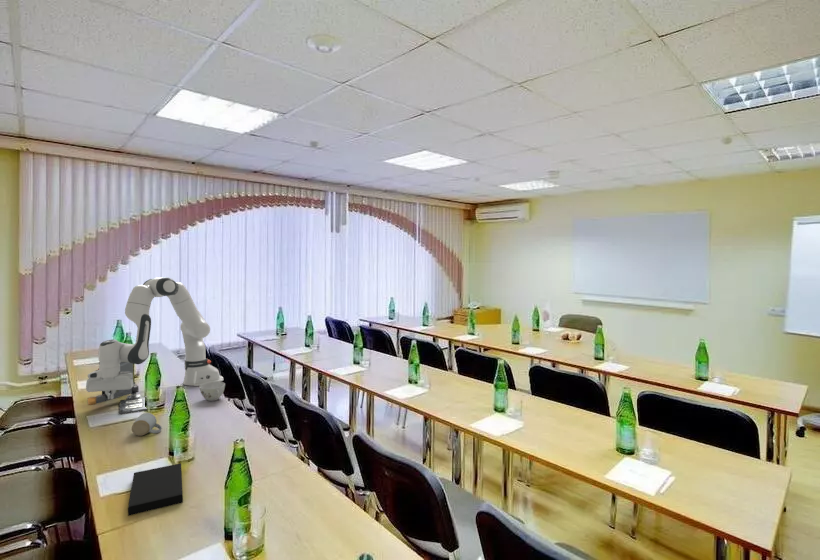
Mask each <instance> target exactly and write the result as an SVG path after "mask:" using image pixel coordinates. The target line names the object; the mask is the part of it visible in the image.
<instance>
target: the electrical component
mask: <svg viewBox="0 0 820 560" xmlns="http://www.w3.org/2000/svg"><path fill="white" fill-rule="evenodd" d="M99 365H100V362H99V361H98V366H99ZM97 370H99V368H98V369H97ZM122 371H125V372H126V371H130V372H131V373H133V378H132V379H133V386H138V384H136V382H135V364H133V363H127V362H120V372H122ZM116 391H117V390H116ZM110 392H111V391H110ZM102 394H105V391H101V395H102Z"/></svg>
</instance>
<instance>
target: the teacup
mask: <svg viewBox="0 0 820 560" xmlns="http://www.w3.org/2000/svg"><path fill="white" fill-rule="evenodd" d="M225 388H226V383H225V382H223V381H221V382H211V383H206V384H203V385H201V386H199V391H200V395H202V397H203V398H204V399H205V400H206V401H207V402H215V401H217V400H219V398H221V396H222V395H223V394H224V392H225Z"/></svg>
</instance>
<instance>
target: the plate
mask: <svg viewBox="0 0 820 560" xmlns="http://www.w3.org/2000/svg"><path fill="white" fill-rule="evenodd" d="M145 397H146V396H140V398H133V399H127V398H126V399H121V400H119V409H118V411H119V412H118V414H120V415H125V413H126V414H131V412H132V413H138V411H139V412H143V411H144V412H145V411H148V410H147V408H146V407H145Z"/></svg>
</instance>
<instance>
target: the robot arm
mask: <svg viewBox="0 0 820 560" xmlns="http://www.w3.org/2000/svg"><path fill="white" fill-rule="evenodd" d="M163 297H166V298H167V299H169V302H170V304H171V306H172V307H173V310H174V311H175V314H176V315H177V317H178V318H179V320H180V321H181V324H180V325H179V326H180V327H179V328H180V330H181V331H180V332H182V338H183V339H182V340H183V343H184V350H185V351H184V352H185V355H184V356H185V357H184V358H185V359H184V377H183V381H182V384H183V385H185V386H194V387H200V386H201V385H203V384H206V383H211V382H223V381H224V377H223V376H222V375H220V372H219V369H218V368H217V367H215V366H213V365H212V360H210V359H208V358H206V344H205V341H204V338H206V337H207V336H209V335H210V333H211V327H210V324H209V323H208V322H207V321H206V320H205V318H204V316H203V315H202V314H201V312H200V311H199V310H198V308H197V306H196V304H195V302H194V300H193V298H192V296H191V294H190V292H189V290H188V289H187V287H186V286H185V285H184V283H183V282H180V281H175V280H174V279H173V278H171V277H164V276H163V277H161V276H160V277H159V276H158V277H155V278H150V279H148V280H147V279H146V281H144V283H143V284H138V285H136V286H134V287H133V288H132V289H131V292H130V294H129V296H128V299H127V301H126V304H125V309H124V314H125V316H126V318H127V319H128V320H130V321H131V322H132V323H134V324H135V326H136V328H137V330H136V331H137V332H136V338H135V343H134V344H133V343H125V342H124V343H123V342H121V341H118V340H117V339H108V340H103V341H102V342H100V344H99V347H98V355H97V356H98V357H97V358H98V363H99V362H100V365H99V364H98V369H99V370H98V369H96V370H94V371H92V372H89V373H88V374H87V378H88V379H87V380H86V381H85V382H86V383H85V389H86V392H87V393H93V392H94V393H95V392H102V391H105V394H106V395H107V396H108V399H111V400H114V399H113V398H114V394H115V392H116V390H128V389H131V388H132V387H133V379H132V378H133V373H131V372H130V371H126V372H125V371H122V372H120V362H127V363H133V364H134V365H141V364H143V363H144V362H145V361H147V359H148V358H149V355H150V348H149V346H150V336H151V329H152V318H151V316H150V310H151V309H150V308H151V305H152V302H153V300H154V298H163ZM110 391H111V393H112V392H113V393H112V394H111V395H110V393H109V392H110Z"/></svg>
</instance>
